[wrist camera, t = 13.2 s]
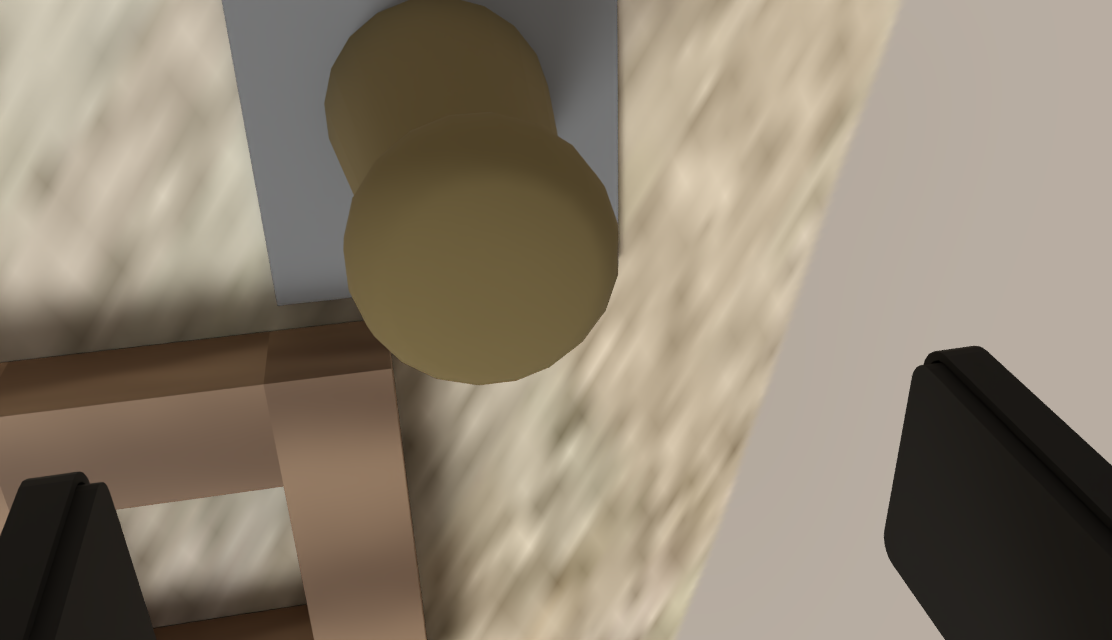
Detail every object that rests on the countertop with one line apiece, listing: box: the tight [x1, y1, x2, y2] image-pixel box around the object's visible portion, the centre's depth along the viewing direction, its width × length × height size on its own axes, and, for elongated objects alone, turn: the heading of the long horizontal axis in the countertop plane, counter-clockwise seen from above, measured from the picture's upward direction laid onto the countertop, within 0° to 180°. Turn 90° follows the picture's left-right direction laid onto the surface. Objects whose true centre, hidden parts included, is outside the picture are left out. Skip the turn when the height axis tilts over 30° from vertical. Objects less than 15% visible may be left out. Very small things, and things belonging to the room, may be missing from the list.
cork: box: [324, 0, 618, 385], centre depth 23 cm, size 6×6×11 cm
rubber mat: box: [222, 0, 618, 306], centre depth 28 cm, size 10×10×1 cm
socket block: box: [0, 321, 427, 640], centre depth 31 cm, size 14×14×3 cm
